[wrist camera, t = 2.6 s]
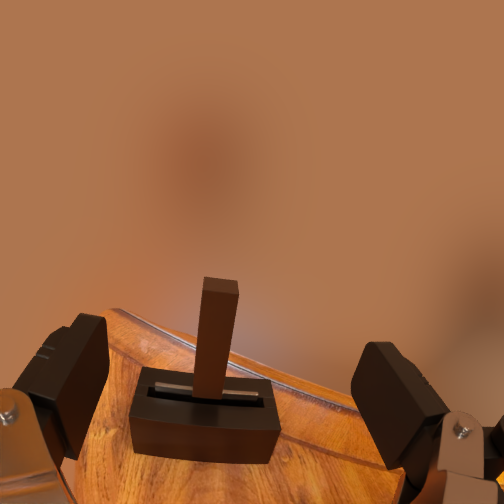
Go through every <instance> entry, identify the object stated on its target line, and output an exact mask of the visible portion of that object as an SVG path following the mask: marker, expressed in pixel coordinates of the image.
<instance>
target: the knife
mask: <svg viewBox="0 0 504 504" xmlns="http://www.w3.org/2000/svg"><path fill="white" fill-rule="evenodd" d="M238 298H239V290H238V282H237V281H234V280H226V279H218V278H210V277H204V282H203V290H202V298H201V307H200V316H199V326H198V336H197V346H196V356H195V367H194V378H193V387H190V386H182V385H174V384H167V383H160V382H156V383H155V398H160V399H167V400H174V401H182V402H191V403H200V404H211V405H223V406H237V407H256V403H257V399H258V396H259V395H258V392H248V391H233V390H223V388H224V382H225V376H226V370H227V364H228V357H229V351H230V345H231V339H232V333H233V328H234V322H235V316H236V310H237V304H238Z"/></svg>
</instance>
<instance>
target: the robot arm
mask: <svg viewBox="0 0 504 504" xmlns="http://www.w3.org/2000/svg"><path fill="white" fill-rule="evenodd" d="M109 366H110V359H109V349H108V337H107V324H106V319H105V318H104V317H101V316H95V315H89V314H84V313H80V314H79V315H78V316H77V318H76V319H75V320H74V322H73V323H72V325H71V326H70V327H65V326H62V327H61V328H59V329H58V330H56V331H54V332H53V333H51V334H50V335H49V336H48V338H47V339H46V340H45V342H44V343H43V344H42V347H40V348H39V350H38V351H37V353H36V356H34V357H33V358H32V360H31V361H30V362H29V364H28V365H27V367H26V368H25V370H24V371H23V372H22V374H21V375H20V377H19V378H18V380H17V381H16V383H15V384H14V386H13V387H12V388H3V389H0V504H78V503H77V501H76V499H75V497H74V495H73V493H72V491H71V489H70V488H69V486H68V483H67V481H66V479H65V477H64V475H63V472H62V470H61V468H60V467H61V464H62V461H63V459H64V457H66V458H70V459H73V460H78V457H79V454H80V451H81V448H82V445H83V442H84V439H85V437H86V434H87V431H88V428H89V425H90V423H91V420H92V417H93V414H94V412H95V409H96V406H97V404H98V401H99V398H100V396H101V393H102V391H103V388H104V386H105V383H106V381H107V378H108V374H109ZM428 383H429V382H428V381H427V380H426V379H425V377H422V373H421V372H420V371H419V370H418V368H417V367H416V366H415V365H414V364H413V363H412V362H410V361H409V360H407V359H406V358H404V357H403V356H402V355H401V353H400V352H399V351H398V349H397V348H396V347H395V346H394V344H393V343H391V342H369V343H367V344H366V346H365V348H364V351H363V353H362V356H361V358H360V361H359V363H358V366H357V368H356V371H355V373H354V375H353V378H352V381H351V394H352V397H353V399H354V401H355V403H356V405H357V407H358V410H359V412H360V414H361V416H362V418H363V420H364V422H365V424H366V426H367V428H368V430H369V432H370V434H371V436H372V438H373V440H374V442H375V444H376V447H377V449H378V451H379V453H380V455H381V457H382V459H383V461H384V463H385V465H386V468H387V470H392V469H397V468H401V467H403V469H404V472H403V474H402V475H401V476H400V479H399V482H398V485H397V488H396V491H395V494H394V498H393V500H392V503H391V504H504V492H503V490H502V489H501V487H500V485H499V483H498V482H497V480H496V479H497V478H498V476H499V475H500V474H501V473H502V472H503V471H504V415H503V416H502V418H501V419H500V421H499V422H498V423H497V425H496V426H495V427H482V426H481V425H480V423H479V422H478V421H477V420H476V419H475V418H474V417H473V416H471V415H469V414H467V413H465V412H460V411H453V412H451V411H450V410H449V409H448V407H447V406H446V405H445V403H444V402H443V401H442V399H441V398H440V397H439V396H438V394H437V393H436V392H435V390H434V389H433V388H432V386H431V385H429V384H428Z"/></svg>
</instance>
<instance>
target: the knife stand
mask: <svg viewBox="0 0 504 504" xmlns="http://www.w3.org/2000/svg"><path fill="white" fill-rule="evenodd" d="M193 378H194V373H186V372H178V371H170V370H163V369H156V368H150V367H143V366H142V369H141V373H140V376H139V380H138V383H137V387H136V390H135V395H134V397H133V401H132V405H131V409H130V412H129V423H130V430H131V437H132V443H133V450H134V453H140V454H146V455H152V456H158V457H165V458H173V459H182V460H191V461H202V462H216V463H237V464H268V463H269V460H270V458H271V455H272V453H273V450H274V448H275V445H276V442H277V440H278V437H279V435H280V432H281V426H280V421H279V417H278V412H277V407H276V403H275V398H274V394H273V389H272V385H271V380H269V379H251V378H236V377H225V382H224V388H223V390H233V391H248V392H258V395H259V396H258V399H257V403H256V407H237V406H223V405H211V404H200V403H191V402H182V401H174V400H167V399H160V398H155V383H156V382H160V383H167V384H174V385H182V386H190V387H193Z"/></svg>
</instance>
